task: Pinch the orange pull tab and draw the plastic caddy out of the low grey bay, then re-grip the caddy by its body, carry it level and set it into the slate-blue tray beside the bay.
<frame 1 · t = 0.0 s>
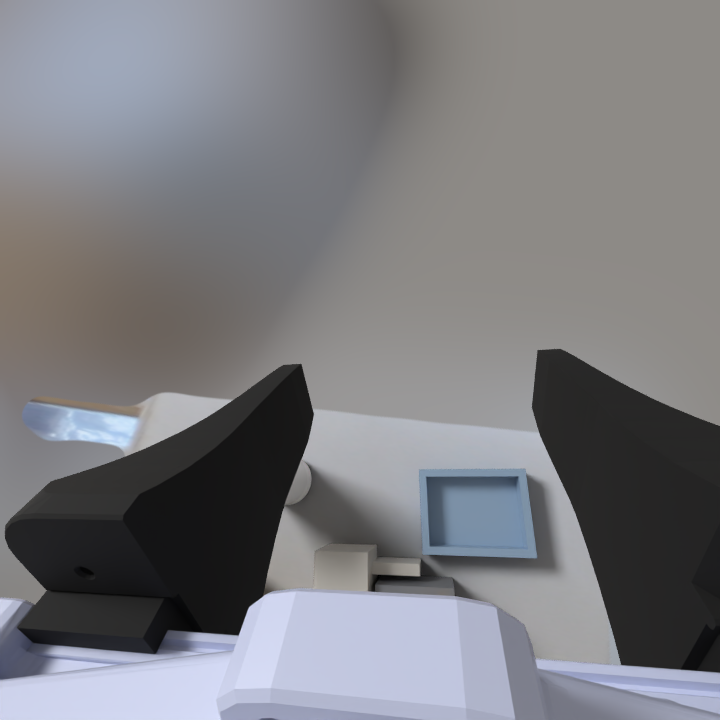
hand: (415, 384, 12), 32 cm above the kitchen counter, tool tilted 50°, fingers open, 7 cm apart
drinking glass: (291, 480, 44), on the kitchen counter
caddy: (417, 601, 38), on the kitchen counter
bay: (417, 601, 38), on the kitchen counter
tray: (472, 510, 39), on the kitchen counter
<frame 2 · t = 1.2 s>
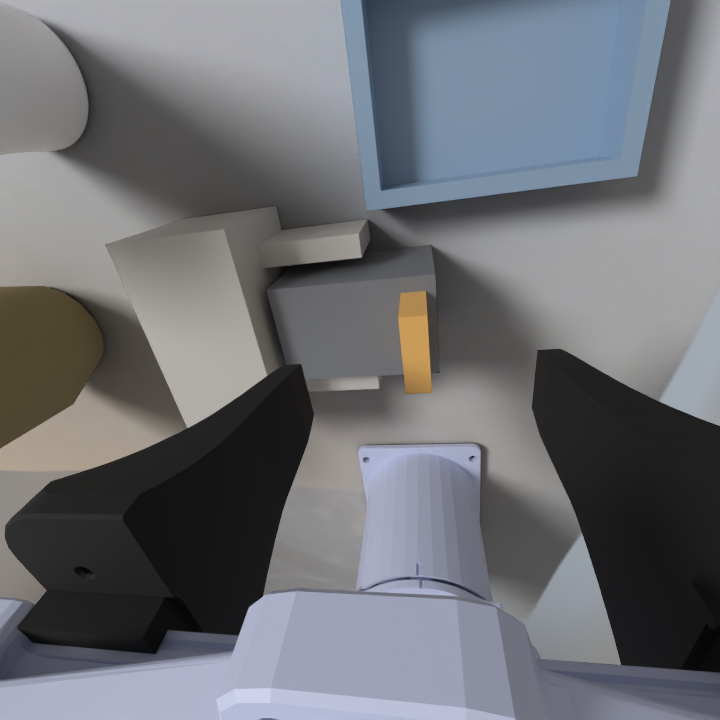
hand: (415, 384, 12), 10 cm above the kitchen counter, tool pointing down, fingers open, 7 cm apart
drinking glass: (43, 86, 18), on the kitchen counter
caddy: (367, 293, 21), on the kitchen counter
squeeze bottle: (64, 327, 25), on the kitchen counter
bay: (367, 294, 21), on the kitchen counter
tray: (485, 84, 16), on the kitchen counter
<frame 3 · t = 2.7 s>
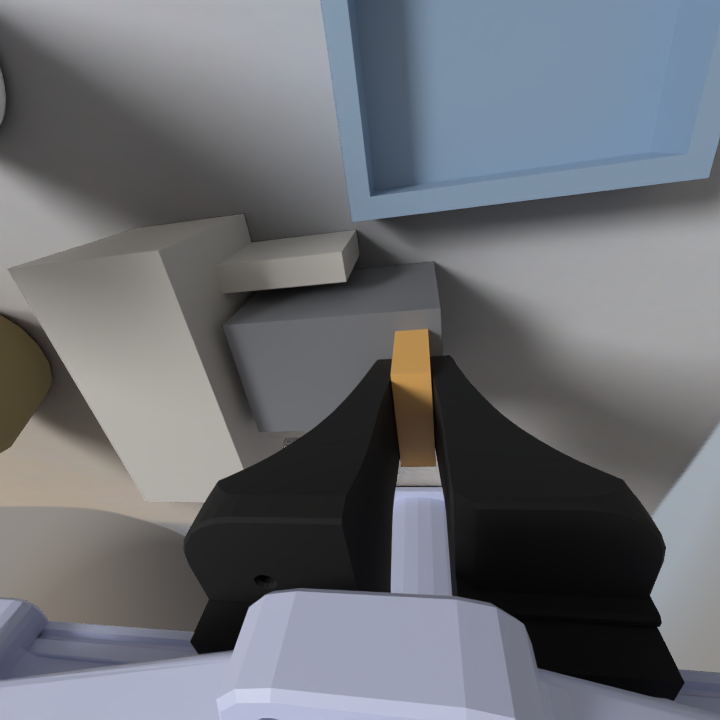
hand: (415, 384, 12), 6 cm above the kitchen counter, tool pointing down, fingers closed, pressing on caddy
caddy: (357, 318, 17), on the kitchen counter, touching gripper
squeeze bottle: (6, 353, 21), on the kitchen counter
bay: (357, 318, 17), on the kitchen counter
tray: (505, 57, 12), on the kitchen counter
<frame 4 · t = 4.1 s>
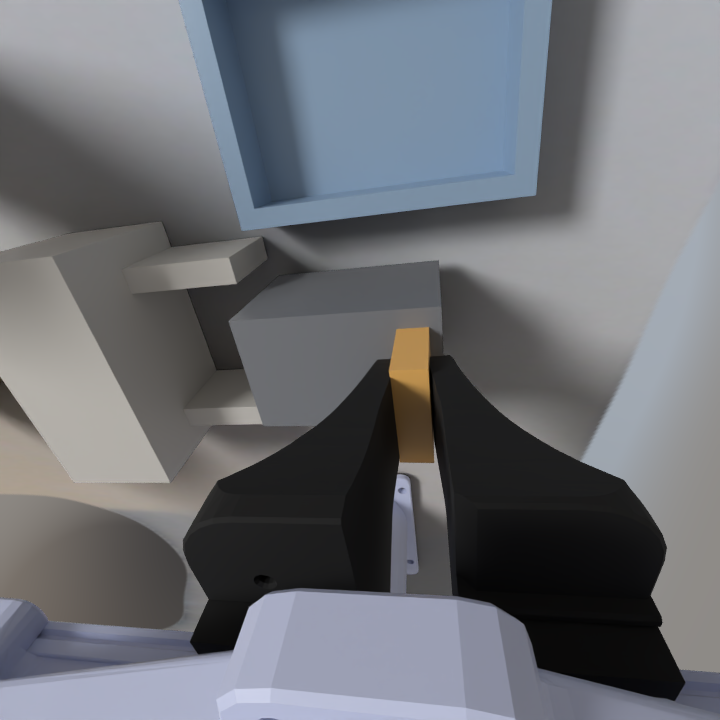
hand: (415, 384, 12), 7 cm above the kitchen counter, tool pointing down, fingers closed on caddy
caddy: (362, 316, 17), point 1 cm above the kitchen counter, touching gripper
bay: (272, 317, 19), on the kitchen counter
tray: (372, 87, 14), on the kitchen counter
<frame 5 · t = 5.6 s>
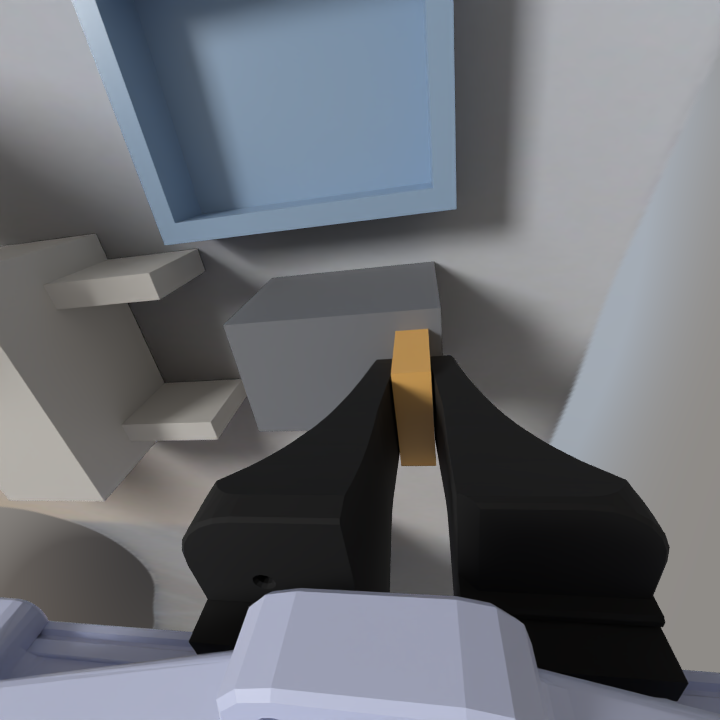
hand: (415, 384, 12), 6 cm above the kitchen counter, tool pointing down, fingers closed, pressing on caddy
caddy: (357, 318, 17), on the kitchen counter, touching gripper
bay: (215, 329, 18), on the kitchen counter
tray: (294, 97, 13), on the kitchen counter
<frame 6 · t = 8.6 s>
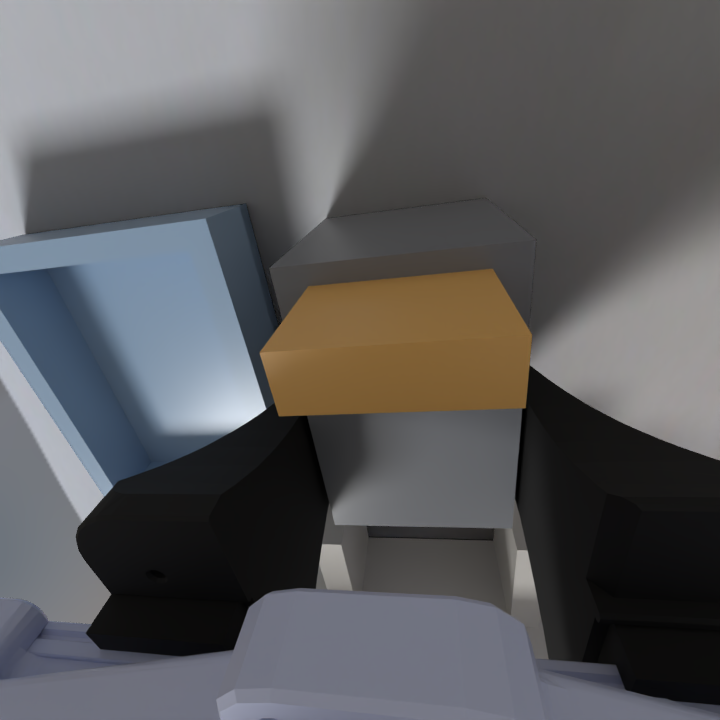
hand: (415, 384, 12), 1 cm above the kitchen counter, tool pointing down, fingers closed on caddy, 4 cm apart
caddy: (411, 322, 12), on the kitchen counter, touching gripper
bay: (424, 477, 16), on the kitchen counter
tray: (187, 363, 14), on the kitchen counter
when the fingers open (3 cm above the kitchen counter, at t = 11.8 s): caddy drops 1 cm, resting on tray.
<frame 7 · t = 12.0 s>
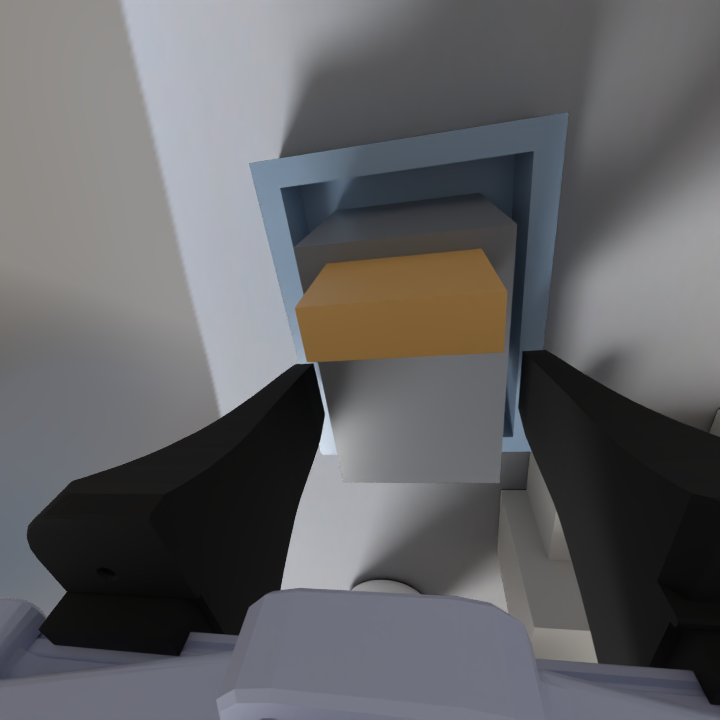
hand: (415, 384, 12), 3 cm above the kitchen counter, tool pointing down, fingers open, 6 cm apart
drinking glass: (387, 596, 24), on the kitchen counter
caddy: (412, 305, 14), resting on tray
bay: (633, 421, 15), on the kitchen counter
tray: (412, 300, 14), on the kitchen counter
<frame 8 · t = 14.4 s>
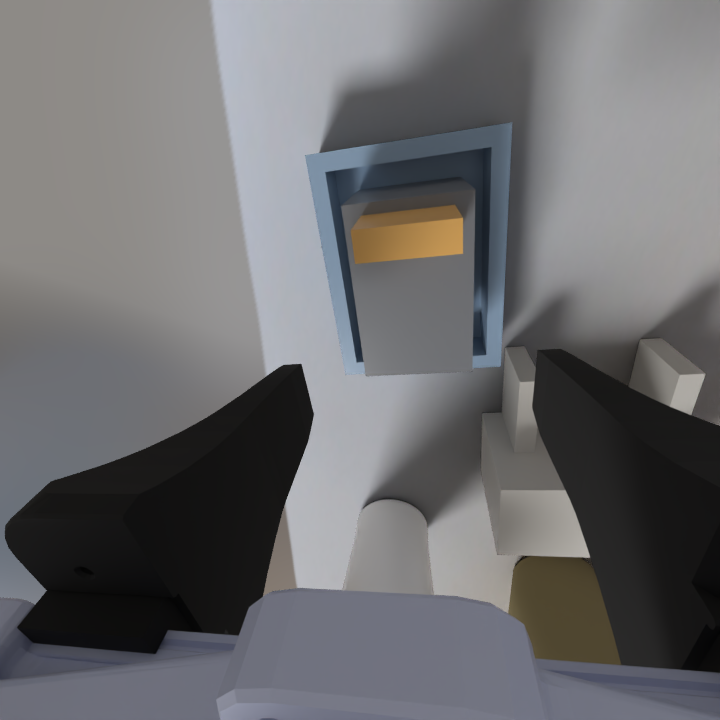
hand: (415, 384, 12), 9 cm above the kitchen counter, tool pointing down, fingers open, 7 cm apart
drinking glass: (392, 516, 30), on the kitchen counter
caddy: (413, 260, 19), resting on tray
squeeze bottle: (550, 569, 30), on the kitchen counter
bay: (579, 351, 21), on the kitchen counter
tray: (413, 257, 19), on the kitchen counter
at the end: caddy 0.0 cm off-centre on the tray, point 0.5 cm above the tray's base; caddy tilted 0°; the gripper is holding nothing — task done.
